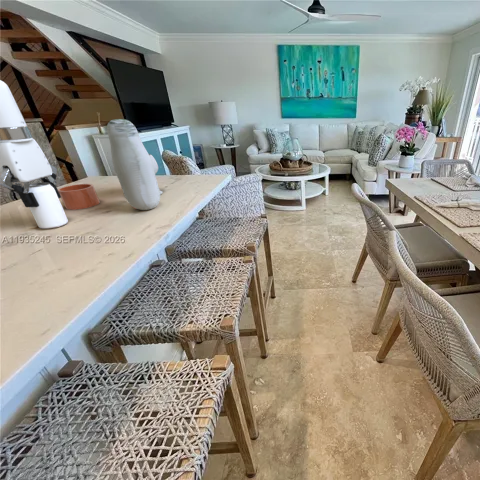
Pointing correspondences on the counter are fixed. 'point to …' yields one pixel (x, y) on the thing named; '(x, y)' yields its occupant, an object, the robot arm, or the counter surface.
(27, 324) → the counter surface
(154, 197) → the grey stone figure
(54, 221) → the can
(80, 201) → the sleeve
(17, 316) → the counter surface
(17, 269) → the counter surface
